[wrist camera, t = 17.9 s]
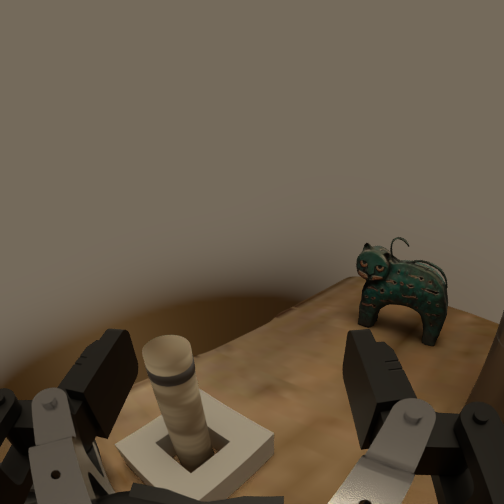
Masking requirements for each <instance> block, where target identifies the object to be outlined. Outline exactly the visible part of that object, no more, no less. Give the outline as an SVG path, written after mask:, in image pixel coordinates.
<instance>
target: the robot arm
mask: <svg viewBox="0 0 504 504" xmlns="http://www.w3.org/2000/svg"><path fill="white" fill-rule="evenodd" d="M137 374H138V361H137V358H136V355H135V352H134V348H133V345H132V341H131V338H130V334H129V332H128V331H127V330H120V329H107V330H106V331H105V333H104V334H103V336H102V337H101V338H100V340H96V341H95V342H93V343H92V344H90V345H89V346H88V347H86V349H85V350H84V351H83V353H82V354H81V356H80V358H78V360H77V361H76V362H75V365H73V366H72V368H71V369H70V371H69V372H68V373H67V375H66V376H65V378H64V379H63V380H62V382H61V383H60V385H59V386H58V388H48V389H45V390H43V391H41V392H39V393H38V394H37V395H36V396H35V397H34V399H33V400H18V399H17V398H16V396H15V394H14V393H13V391H11V390H9V389H5V388H3V389H0V446H1V445H2V443H3V441H4V439H5V438H6V437H7V439H8V440H9V441H10V443H11V444H12V445H11V447H10V449H9V451H8V452H7V454H6V456H5V458H4V460H3V462H2V464H1V465H0V504H24V503H25V501H26V499H27V496H28V494H29V492H30V489H31V487H32V485H33V484H34V489H35V494H36V499H37V503H38V504H284V496H274V497H254V496H243V497H237V498H231V499H224V500H216V501H208V502H204V501H199V500H196V499H193V498H190V497H187V496H184V495H182V494H179V493H176V492H174V491H171V490H169V489H165V488H159V487H153V486H148V485H143V484H138V483H133V484H132V487H131V490H130V491H125V492H117V493H115V491H114V490H113V488H112V486H111V484H110V482H109V480H108V478H107V475H106V472H105V470H104V467H103V465H102V462H101V459H100V456H99V454H98V451H97V448H96V445H95V444H94V442H93V441H94V439H95V437H96V436H98V437H102V438H106V439H108V437H109V435H110V433H111V430H112V428H113V426H114V424H115V422H116V420H117V417H118V415H119V413H120V411H121V409H122V407H123V405H124V403H125V400H126V398H127V396H128V394H129V392H130V390H131V388H132V386H133V384H134V382H135V380H136V377H137ZM343 379H344V384H345V387H346V391H347V395H348V399H349V403H350V407H351V411H352V415H353V419H354V423H355V427H356V431H357V435H358V440H359V444H360V448H361V450H363V449H368V451H367V452H366V454H365V455H363V456H362V457H361V458H360V459H359V461H358V462H357V463H356V465H355V466H354V468H353V469H352V471H351V472H350V474H349V475H348V477H347V478H346V480H345V481H344V482H343V484H342V485H341V486H340V488H339V489H338V491H337V492H336V493H335V495H334V496H333V497H332V499H331V500H330V501H329V502H328V504H401V503H402V501H403V499H404V497H405V495H406V493H407V491H408V489H409V487H410V485H411V483H412V481H413V479H414V476H415V475H431V477H432V481H433V485H434V489H435V493H436V497H437V501H438V504H504V312H503V315H502V318H501V321H500V324H499V327H498V329H497V333H496V335H495V338H494V341H493V343H492V346H491V348H490V351H489V353H488V356H487V358H486V361H485V363H484V366H483V368H482V370H481V372H480V375H479V377H478V379H477V381H476V383H475V385H474V387H473V389H472V392H471V394H470V396H469V398H468V400H467V402H466V405H465V406H464V408H463V409H462V411H461V413H460V414H452V413H437V412H435V411H434V409H433V408H432V406H431V405H430V404H428V403H427V402H425V401H423V400H420V399H417V397H416V395H415V393H414V391H413V389H412V386H411V384H410V382H409V380H408V378H407V376H406V374H405V372H404V370H402V366H401V364H400V362H398V358H397V356H396V354H395V352H394V350H393V349H392V348H391V347H389V346H388V345H387V344H386V343H385V342H376V341H375V339H374V337H373V335H372V332H371V331H370V329H364V330H350V331H348V334H347V340H346V347H345V354H344V361H343Z"/></svg>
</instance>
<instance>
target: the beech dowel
mask: <svg viewBox="0 0 504 504" xmlns="http://www.w3.org/2000/svg"><path fill="white" fill-rule="evenodd" d="M142 354H143V358H144V362H145V366H146V370H147V373H148V376H149V379H150V381H151V384H152V387H153V390H154V393H155V396H156V399H157V402H158V405H159V408H160V411H161V414H162V417H163V419H164V422H165V425H166V428H167V430H168V433H169V435H170V438H171V441H172V443H173V446H174V448H175V451H176V453H177V456H178V458H179V460H180V463H181V465H182V467H184V468H185V469H186V470H187V471H188V472H190V473H192V472H194V471H195V470H196V469H197V468H199V467H200V466H201V465H203V464H204V463H205V462H206V461H208V460H209V459H210V458H211V457H213V456H214V452H213V448H212V444H211V440H210V436H209V431H208V427H207V423H206V419H205V414H204V410H203V405H202V401H201V396H200V391H199V387H198V382H197V377H196V372H195V364H194V359H193V355H192V351H191V346H190V343H189V342H188V340H187V339H185V338H183V337H181V336H176V335H164V336H160V337H157V338H154V339H152V340H151V341H149V342H148V343H147V344H146V345H145V346H144V347H143V350H142Z"/></svg>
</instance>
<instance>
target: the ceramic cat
mask: <svg viewBox="0 0 504 504" xmlns="http://www.w3.org/2000/svg"><path fill="white" fill-rule="evenodd" d="M396 239H400V240H402V241H404V242H405V243H406V244H407V245H408V246H409V244H408V242H407V241H406V240H405V239H404V238H401V237H397V238H395V239H393V241H392V243H391V248H390V249H391V250H390V252H389V250H387V249H386V248H384V247H382V246H374V247H372V246H371V245H370V244H369V243H366V244H365V245H364V248H363V251H362V253H361V254H360V255H359V256H358V258H357V264H356V265H357V272H358V274H359V275H360V276H361V277H362V278H364V279H366V283H365V285H364V287H363V290H362V299H361V302H360V305H359V319H358V324H359V325H362V326H365V327H372V326H373V325H374V324H375V322H376V321H377V318H378V313H379V311H380V309H381V308H383V307H384V306H386V305H389V304H393V305H403V306H407V307H410V308H412V309H414V310H415V311H417V312H418V313H419V314H420V315H421V318H422V322H423V336H422V343H424V344H425V345H429V346H434V345H435V343H436V340H437V338H438V336H439V334H440V331H441V329H442V326H443V324H444V321H445V319H446V316H447V307H448V296H447V279H446V276H445V274H444V272H443V271H442V269H441V268H439V267H438V266H436V265H434V264H432V263H430V262H427V261H423V260H414V261H408V260H401V261H400V260H399V259H397V258H396V257H394V256H393V254H392V244H393V242H394V241H395V240H396ZM419 262H422V263H427V264H429V265H430V266H433V267H435V268H436V269H438V270H439V271H440V272H441V274H442V275H443V276H444V278H445V281H446V285H445V282H444V281H443V279H442V277H441V276H440V275H439V274H438V273H437V272H436V271H435V270H434V269H432V268H431V267H429V266H427V265H425V264H422V263H419Z"/></svg>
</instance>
